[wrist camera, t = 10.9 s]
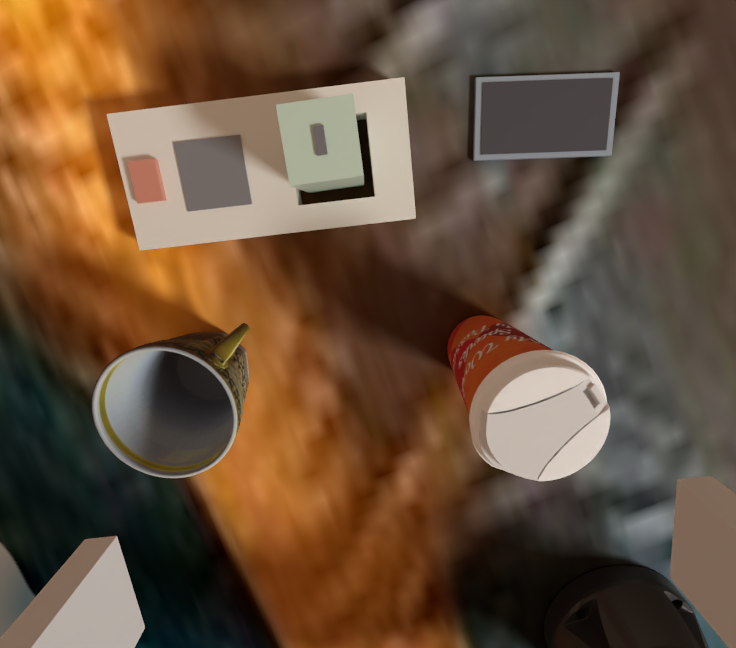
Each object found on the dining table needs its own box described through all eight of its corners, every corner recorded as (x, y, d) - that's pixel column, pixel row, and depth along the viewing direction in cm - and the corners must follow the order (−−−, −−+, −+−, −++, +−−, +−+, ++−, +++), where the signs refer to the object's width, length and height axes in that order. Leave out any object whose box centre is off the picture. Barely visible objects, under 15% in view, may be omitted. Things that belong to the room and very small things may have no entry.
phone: (604, 157, 36) (612, 155, 34) (471, 161, 36) (474, 160, 35) (612, 76, 34) (620, 71, 33) (473, 81, 34) (476, 76, 33)
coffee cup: (493, 283, 38) (574, 328, 23) (542, 355, 39) (645, 439, 25) (414, 338, 39) (444, 414, 24) (465, 406, 40) (521, 514, 26)
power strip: (412, 218, 36) (416, 218, 33) (154, 247, 37) (135, 251, 34) (401, 86, 34) (405, 74, 31) (124, 120, 34) (101, 112, 31)
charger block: (364, 185, 35) (363, 175, 26) (310, 193, 36) (289, 185, 26) (356, 126, 34) (353, 92, 24) (300, 134, 34) (275, 104, 25)
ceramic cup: (222, 435, 41) (178, 503, 31) (136, 367, 39) (61, 418, 30) (313, 340, 39) (295, 382, 29) (226, 263, 37) (176, 282, 27)
